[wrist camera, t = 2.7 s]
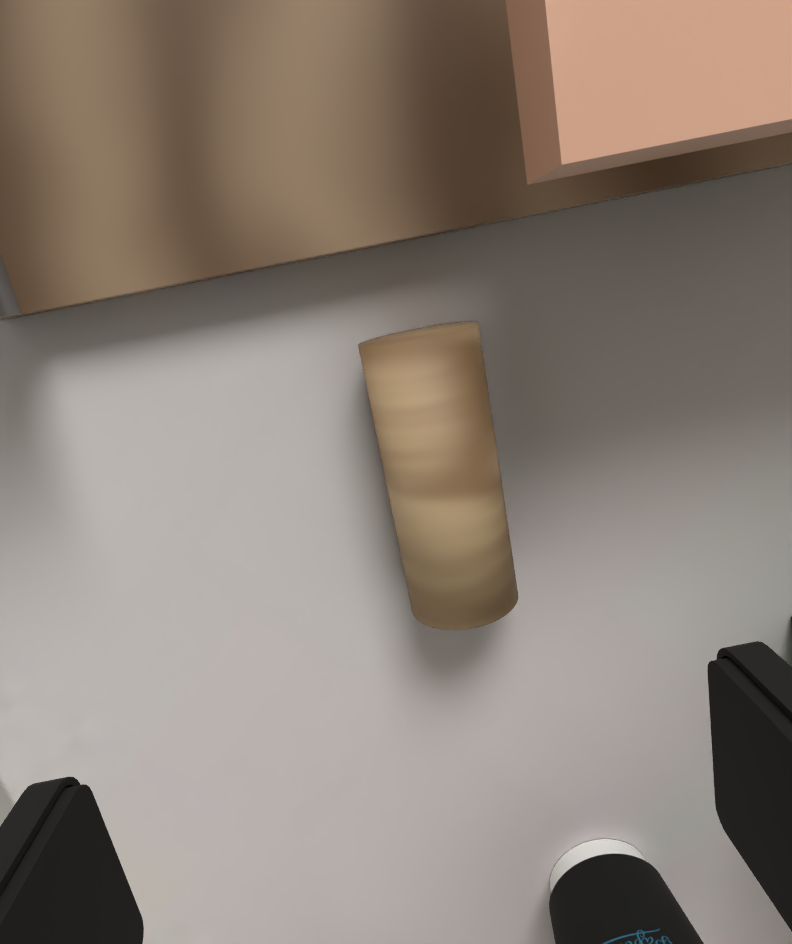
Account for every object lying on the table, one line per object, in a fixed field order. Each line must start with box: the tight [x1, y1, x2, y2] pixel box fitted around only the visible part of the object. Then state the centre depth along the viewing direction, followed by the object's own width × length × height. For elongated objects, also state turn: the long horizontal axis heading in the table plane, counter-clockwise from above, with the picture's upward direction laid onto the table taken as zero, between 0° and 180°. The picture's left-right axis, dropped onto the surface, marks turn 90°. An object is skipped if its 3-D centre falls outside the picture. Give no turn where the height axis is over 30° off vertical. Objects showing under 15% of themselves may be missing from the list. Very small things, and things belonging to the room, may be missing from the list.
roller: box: [358, 321, 518, 630], centre depth 23 cm, size 4×10×4 cm
